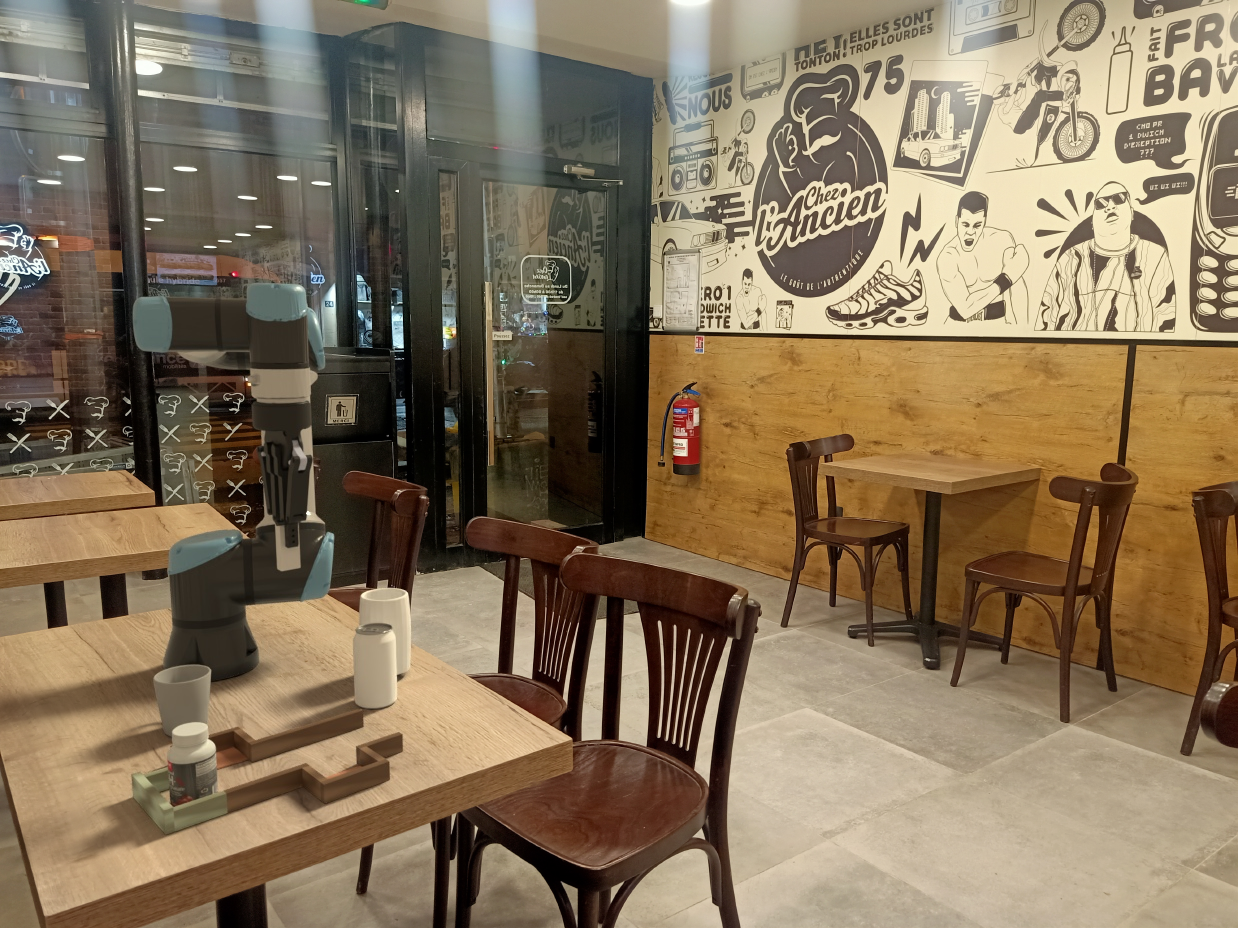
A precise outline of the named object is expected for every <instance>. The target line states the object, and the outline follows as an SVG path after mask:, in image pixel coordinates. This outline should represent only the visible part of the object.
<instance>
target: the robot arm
mask: <svg viewBox="0 0 1238 928" xmlns="http://www.w3.org/2000/svg"><path fill="white" fill-rule="evenodd" d="M306 292H307V291H306V289H305V287H304V286H302V285H300V284H297V283H277V282H276V283H273V282H272V283H270V282H268V283H267V282H255V283H253V282H252V283H251V284H249V285H248V287H247V288H246V298H241V297H240V298H238V297H237V298H235V297H234V298H233V297H231V298H229V297H226V298H225V297H216V298H214V297H189V296H188V297H187V296H186V297H185V296H182V297H181V296H179V297H178V296H164V295H157V296H141V297H138V298H137V299H135V301H134V303H133V306H132V326H133V335H134V339H135V343H136V346H137V347H138V348H139V350H141V351H143V352H155V353H156V352H157V353H160V354H161V353H178V355H179V356H181V357H182V358H183V359H185V360H187V361H190V362H191V363H196V364H200V365H203V366H207V367H212V368H218V369H226V370H240V371H241V370H245V371H246V370H249V376H247V377H246V379H247V382H248V383H249V384H250V390H251V396H252V397H253V398H254V399H256V401H253V403H252V404H251V413H252V414H251V415H252V416H251V419H252V427H253V428H254V429H255V430H257V431H261V433H260V434H261V435H260V436H261V445H258V446H256V453H257V457H258V460H259V464H260V465H259V466H260V471H261V477H262V484H263V507H264V510H263V511H264V517H263V519H262V520H261V521H260V522H259V523H258V524H257V525H256V526H255V537H249V538H248V537H247V538H245V537H244V535H243V533H242V532H241V530H238V529H235V528H234V529H233V528H231V529H218V530H212V531H207V532H202V533H198V534H194V535H191V536H187V537H185V538H182V539H180V540H178V541H176V542H175V543H173V544H172V546H170V549H168V569H167V574H168V575H169V576H168V577H169V592H170V607H171V608H170V609H171V611H170V612H171V622H172V623H171V624H172V625H171V626H172V628H171V632H170V636H169V639H168V643H167V646H166V649H165V652H164V656H163V660H162V661H163V662H162V664H163V665H162V666H163V670H165V669H168V668H172V667H177V666H183V665H203V666H207V667H209V668H210V669H211V682H212V681H219V680H220V681H221V680H224V679H229V678H233V677H236V676H239V675H243V674H245V673H248V672H249V671H251V670H253V669H255V667H257V666H258V664H259V663H260V650H259V647H258V645H257V641H256V639H255V637H254V635H253V633H252V630H251V628H250V625H249V623H248V619H247V611H246V610H247V609H246V606H259V605H271V604H281V603H293V602H294V603H296V602H300V603H303V602H304V601H311V600H319V599H323V598H324V597H326V596H327V594H329V592H330V587H331V579H332V569H333V561H334V547H335V545H334V543H335V534H334V533H332V532H330V531H327V532H326V523H325V522H324V521H323V520H322V518H320V517H319V516H318V515H317V514H316V493H315V492H316V490H315V473H314V455H313V454H314V453H313V449H314V448H313V431H312V427H313V426H312V424H313V423H312V404H311V395H312V392H311V391H312V389H311V386H312V385H313V384H314V383H315V382H316V381H317V380H318V371H321V370H323V369H325V367H326V357H325V350H324V341H323V337H322V331H321V326H320V322H319V318H318V315H317V314H316V312H315V311H314V310H313V309H312V308H311V307H308V303H307V302H308V301H307V293H306Z"/></svg>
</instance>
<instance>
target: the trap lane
mask: <svg viewBox="0 0 1238 928" xmlns="http://www.w3.org/2000/svg"><path fill="white" fill-rule="evenodd" d="M360 728H364V710H363V709H362V708H357V709H354V710H349V711H347V712H344V713H340V714H337V715H334V716H330V717H327V718H324V719H321V720H317V721H315V722H311V723H308V724H304V725H301V726H298V727H294V728H292V729H287V730H285V731H281V732H278V733H275V734H271V735H267V736H265V737H261V738H259V739H255V738H253V737H252V736H251V735H249V733H247V732H246V731H244V730H243V729H242V728H241V727H240V726H235V727H232V728H228V729H225V730H221V731H218V732H217V731H216V732H215V733H211V734H209V737H208V739H209V740H211V741H212V742H213V743H214V744H215V747H216V762H217V771H218V770H220V769H224V768H226V767H229V766H230V767H231V766H234V765H236V764H240V763H242V762H245V761H250V762H251V763H255V762H257V761H260V760H261V761H262V760H264V759H267V758H270V757H273V756H276V755H280V754H282V753H286V752H289V751H292V750H295V749H299V748H302V747H305V746H309V745H311V744H313V743H317V742H320V741H323V740H326V739H329V738H332V737H335V736H338V735H341V734H344V733H348V732H351V731H354V730H358V729H360ZM403 737H404V736H403V733H401V732H400V731H397V732H395V733H391V734H388V735H385V736H382V737H380V738H379V737H378V738H376V739H374V740H373V739H372V740H370V741H368V742H364V743H360V744H359V745H356V746H355V757H356V759H355V761H356V766H355V767H352V768H349V769H346V770H343V771H340V772H337V773H334V774H332V775H329V776H326V777H325V776H324V775H323V774H322V773H321V772H319V771H318V770H317V769H315V768H314V767H312V766H311V765H310V764H309V763H308V762H305V763H302V764H298V765H296V766H292V767H290V768H287V769H284V770H281V771H277V772H275V773H272V774H269V775H267V776H262V777H260V778H257V779H252V780H251V781H247V782H245V783H242V784H239V785H236V786H233V787H230V788H227V789H224V790H221V791H218V793H215V794H212V795H209V796H206V797H203V798H200V799H197V800H194V801H191V802H188V803H185V804H182V805H179V806H176V807H173V806H172V805H171V804H170V801H168V800H167V798H165V796H163V794H162V793H161V792H164V791H167V790H169V776H168V766H166V767H163V768H160V769H157V770H152V771H150V772H147V773H142V772H141V771H138V772H133V773H131V774H130V775H131V776H130V777H131V789H132V798H133V799H134V800H135V801H136V802H137V804H138V805H140V807H141V808H142V810H144V811H145V813H146V814H147V815H148V816H149V817H150V819H151V820H152V821H153V822H154V823H155V824H156V825H157V827H158V828H159V829H160V830H161V832H163V834H165V835H169V834H173V833H175V832H179V831H181V830H183V829H186V828H189V827H191V826H196V825H198V824H200V823H203V822H206V821H209V820H213V819H214V818H218V817H220V816H223V815H227V814H228V813H232V812H234V811H237V810H240V809H242V808H243V809H244V808H245V807H249V806H252V805H255V804H257V803H260V802H263V801H266V800H269V799H271V798H274V797H277V796H280V795H282V794H286V793H288V792H292V791H295V790H297V789H299V788H304V789H306V790H307V791H308V792H309V793H311V794H312V795H313V796H314V797H316V798H317V799H318V800H319V801H321V802H322V803H323V804H328V803H330V802H333V801H336V800H339V799H342V798H344V797H345V798H346V796H347V797H348V796H350V795H353V794H355V793H358V792H361V791H364V790H366V789H369V788H371V787H373V786H374V787H375V786H376V785H379V784H382V783H385V782H388V781H391V776H390V775H391V769H390V768H391V765H390V760H388V759H386V758H388V757H391V756H393V755H396V754H399V753H403V752H404V743H403V742H404V739H403ZM173 745H174V744H172V745H170V748H171V747H172V746H173ZM170 748H169V749H170Z"/></svg>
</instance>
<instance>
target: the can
mask: <svg viewBox="0 0 1238 928" xmlns="http://www.w3.org/2000/svg"><path fill="white" fill-rule="evenodd" d="M392 628H393V627H392V626H391V625H390V624H386V623H370V624H365V625H361V626H357V627H356V628H355V634H354V636H353V639H352V656H353V657H352V658H353V681H354V682H353V686H354V702H355V705H357V706H358V707H359V708H360V709H364V710H365V709H366V710H380V709H384V708H387V707H390V706H392V705H393V704H395V702H396V700H398V675H397V666H396V638H395V634H394V632H393V631H392Z"/></svg>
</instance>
